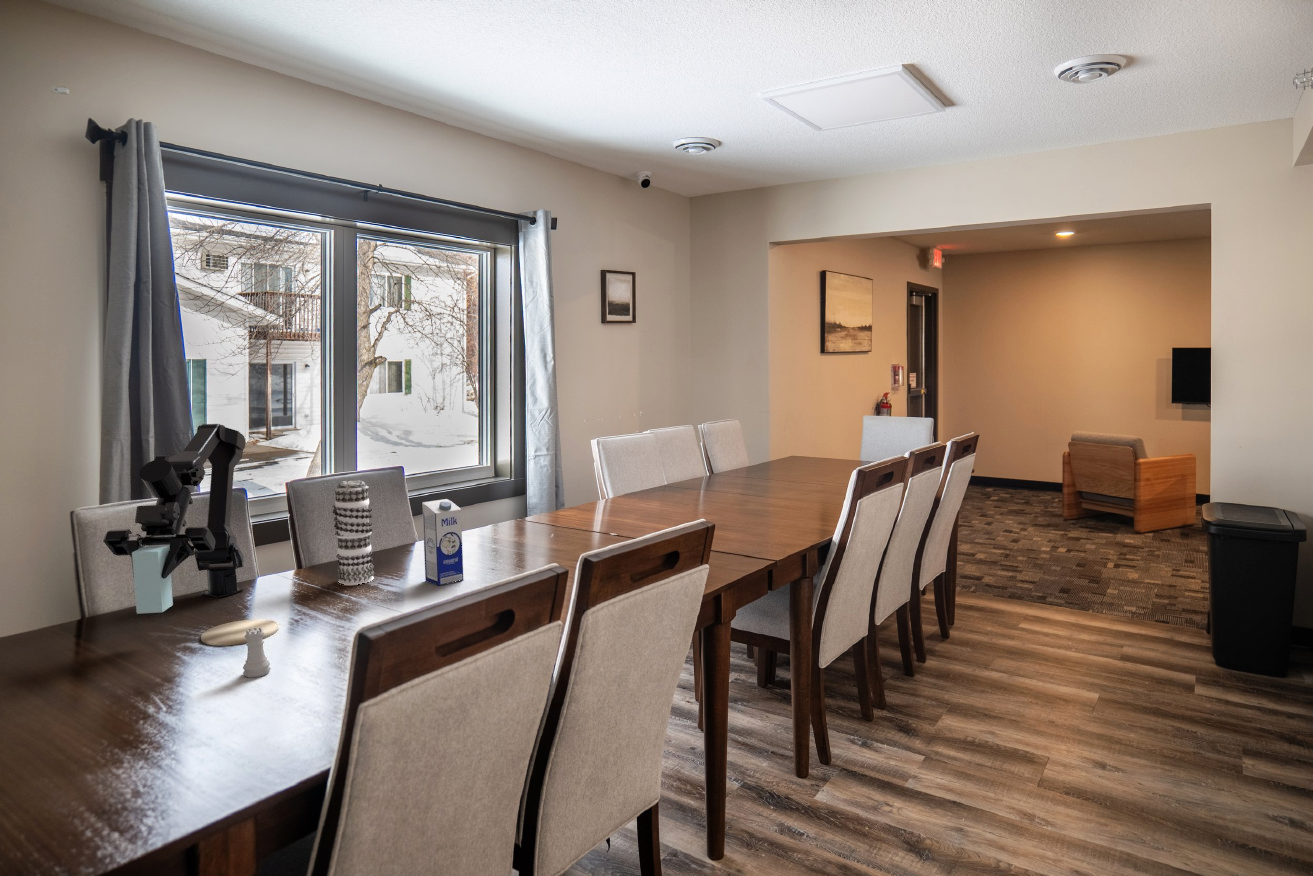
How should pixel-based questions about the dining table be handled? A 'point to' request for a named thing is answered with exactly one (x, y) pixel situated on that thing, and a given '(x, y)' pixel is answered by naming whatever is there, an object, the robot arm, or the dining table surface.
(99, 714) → the dining table surface
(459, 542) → the milk carton
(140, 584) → the teal post
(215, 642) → the board
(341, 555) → the patterned cylinder tower
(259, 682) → the dining table surface
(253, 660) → the rook chess piece
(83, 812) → the dining table surface
